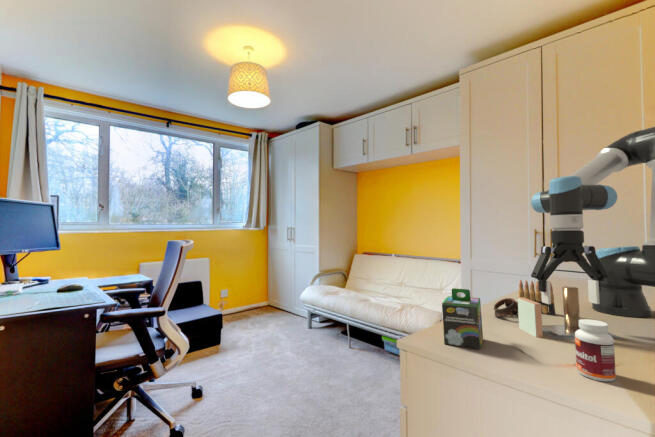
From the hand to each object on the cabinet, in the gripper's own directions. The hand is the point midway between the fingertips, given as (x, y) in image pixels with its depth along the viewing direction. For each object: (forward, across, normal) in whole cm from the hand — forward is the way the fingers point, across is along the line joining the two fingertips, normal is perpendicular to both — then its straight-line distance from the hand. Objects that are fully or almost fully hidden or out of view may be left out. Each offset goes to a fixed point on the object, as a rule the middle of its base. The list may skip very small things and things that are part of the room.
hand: (570, 303), depth 87 cm
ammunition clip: (+9, +3, +20) cm, 22 cm away
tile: (+9, -12, 0) cm, 15 cm away
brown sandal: (+9, -8, +15) cm, 20 cm away
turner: (+8, 0, 0) cm, 8 cm away
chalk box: (+10, -33, -4) cm, 34 cm away
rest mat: (+9, 0, 0) cm, 9 cm away
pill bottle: (+9, -14, -24) cm, 29 cm away
